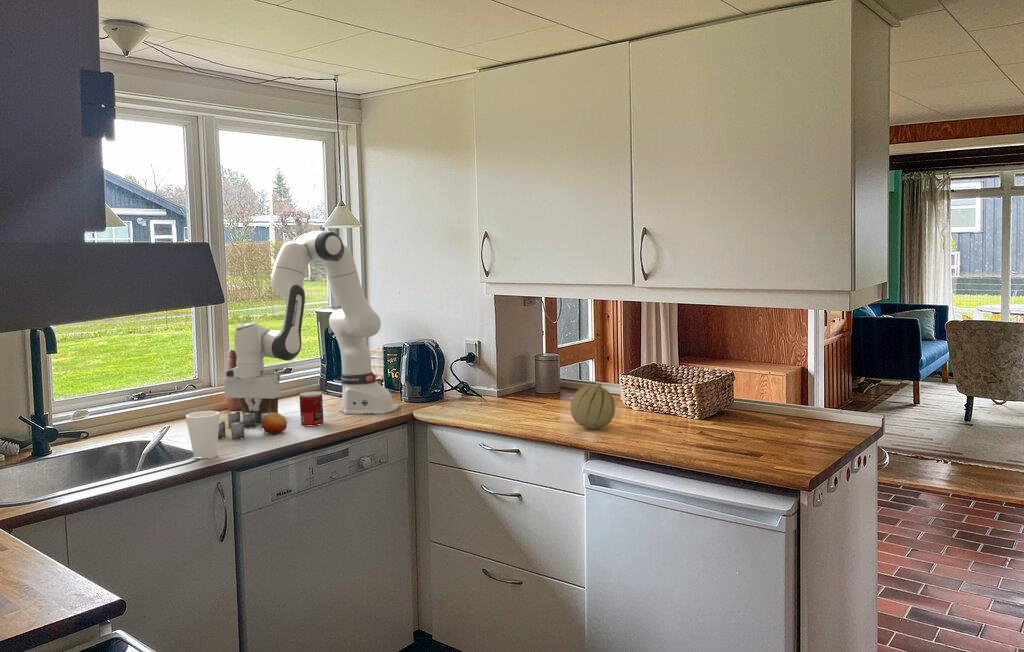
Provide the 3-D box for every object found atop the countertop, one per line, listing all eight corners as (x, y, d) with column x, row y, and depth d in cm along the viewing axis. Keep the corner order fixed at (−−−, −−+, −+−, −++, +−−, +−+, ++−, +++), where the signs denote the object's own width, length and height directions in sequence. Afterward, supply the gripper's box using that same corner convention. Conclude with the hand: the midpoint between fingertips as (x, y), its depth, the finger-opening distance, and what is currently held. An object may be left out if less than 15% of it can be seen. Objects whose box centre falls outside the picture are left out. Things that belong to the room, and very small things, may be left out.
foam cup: (182, 460, 233) (179, 417, 232) (199, 452, 242) (196, 410, 241) (211, 460, 231) (209, 417, 230) (227, 452, 241) (225, 411, 239)
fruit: (270, 425, 271) (277, 406, 268) (285, 438, 268) (293, 419, 266) (252, 430, 264) (260, 411, 261) (268, 443, 261) (276, 424, 258)
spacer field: (275, 426, 275) (275, 412, 275) (239, 439, 257) (238, 425, 256) (235, 424, 281) (234, 410, 280) (196, 437, 262) (195, 422, 261)
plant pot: (227, 422, 285) (224, 378, 283) (260, 413, 299) (257, 371, 297) (260, 425, 277) (257, 380, 275) (292, 416, 291) (290, 373, 290)
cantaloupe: (561, 429, 259) (560, 384, 258) (592, 421, 268) (591, 378, 267) (593, 436, 248) (593, 389, 246) (625, 428, 257) (624, 383, 256)
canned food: (318, 426, 273) (316, 395, 272) (296, 426, 275) (295, 395, 274) (327, 421, 281) (325, 391, 279) (306, 421, 282) (305, 391, 281)
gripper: (282, 369, 264) (285, 409, 266) (231, 368, 271) (235, 407, 272) (271, 372, 258) (274, 413, 260) (219, 372, 265) (223, 412, 266)
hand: (254, 410), depth 266 cm, fingers closed
